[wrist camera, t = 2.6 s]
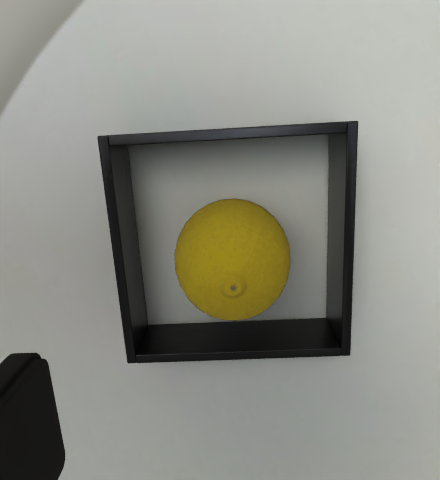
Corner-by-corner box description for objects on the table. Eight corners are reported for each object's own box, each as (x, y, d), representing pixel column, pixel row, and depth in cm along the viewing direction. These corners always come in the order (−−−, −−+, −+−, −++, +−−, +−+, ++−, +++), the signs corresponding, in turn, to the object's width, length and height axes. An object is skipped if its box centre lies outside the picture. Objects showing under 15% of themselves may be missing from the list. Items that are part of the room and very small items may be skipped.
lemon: (262, 290, 24) (276, 366, 17) (173, 264, 24) (146, 329, 16) (293, 204, 23) (324, 243, 15) (199, 175, 23) (183, 200, 15)
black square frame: (140, 332, 25) (127, 363, 22) (117, 134, 22) (96, 136, 19) (334, 324, 25) (350, 355, 22) (338, 121, 22) (358, 121, 18)
